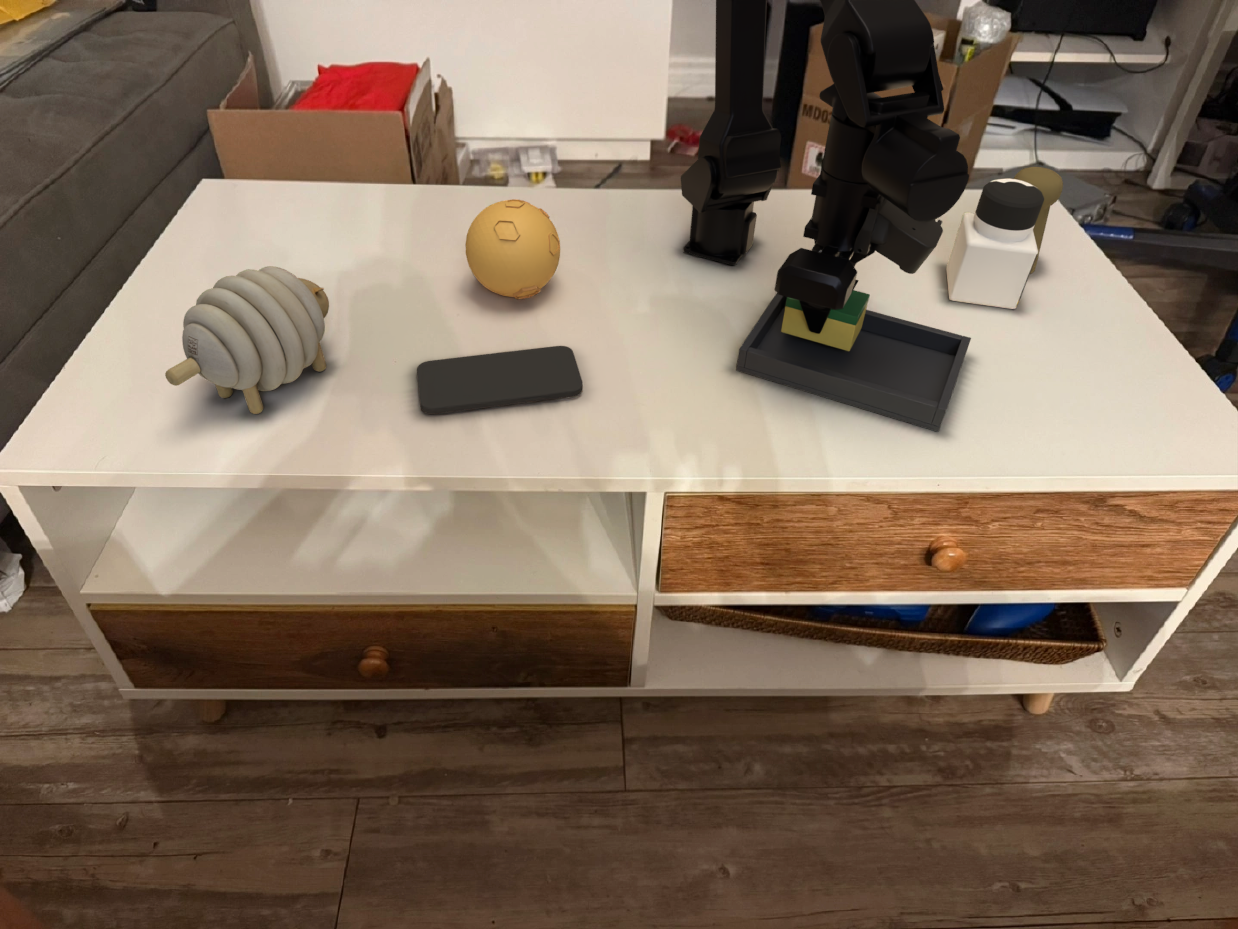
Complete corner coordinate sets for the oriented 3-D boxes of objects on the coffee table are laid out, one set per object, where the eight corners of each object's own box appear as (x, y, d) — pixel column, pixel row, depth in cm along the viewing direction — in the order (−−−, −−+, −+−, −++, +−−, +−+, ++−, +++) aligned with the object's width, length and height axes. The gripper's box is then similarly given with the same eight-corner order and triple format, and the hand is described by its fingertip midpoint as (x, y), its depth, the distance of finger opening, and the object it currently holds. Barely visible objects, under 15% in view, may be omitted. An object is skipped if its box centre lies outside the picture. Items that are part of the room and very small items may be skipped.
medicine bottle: (1016, 310, 96) (1057, 207, 87) (948, 301, 97) (982, 198, 88) (1009, 276, 101) (1047, 176, 92) (945, 268, 102) (977, 167, 93)
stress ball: (474, 319, 92) (465, 231, 85) (466, 270, 99) (457, 185, 92) (569, 310, 93) (567, 223, 86) (554, 262, 100) (552, 178, 93)
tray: (735, 370, 86) (739, 348, 85) (777, 307, 95) (781, 286, 93) (938, 432, 80) (946, 410, 79) (963, 359, 89) (971, 337, 87)
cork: (1013, 245, 106) (1046, 156, 98) (1047, 271, 102) (1084, 180, 94) (971, 253, 104) (1001, 163, 97) (1003, 279, 100) (1037, 187, 93)
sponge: (780, 332, 88) (786, 297, 85) (794, 309, 91) (801, 275, 88) (849, 351, 86) (858, 317, 83) (861, 328, 89) (870, 294, 86)
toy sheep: (372, 356, 87) (352, 254, 79) (242, 457, 76) (204, 351, 68) (290, 324, 90) (263, 224, 82) (155, 417, 79) (109, 312, 71)
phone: (416, 361, 85) (570, 343, 87) (417, 368, 85) (570, 350, 88) (420, 410, 79) (585, 389, 82) (421, 417, 80) (585, 396, 83)
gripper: (924, 238, 68) (879, 396, 79) (968, 148, 81) (923, 295, 91) (787, 205, 72) (760, 361, 82) (849, 124, 84) (819, 268, 95)
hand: (822, 319), depth 88 cm, fingers closed on sponge, 4 cm apart
